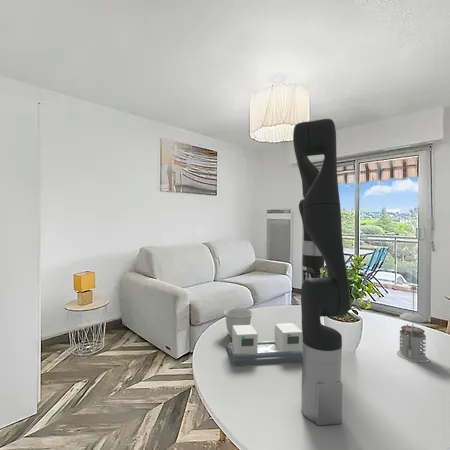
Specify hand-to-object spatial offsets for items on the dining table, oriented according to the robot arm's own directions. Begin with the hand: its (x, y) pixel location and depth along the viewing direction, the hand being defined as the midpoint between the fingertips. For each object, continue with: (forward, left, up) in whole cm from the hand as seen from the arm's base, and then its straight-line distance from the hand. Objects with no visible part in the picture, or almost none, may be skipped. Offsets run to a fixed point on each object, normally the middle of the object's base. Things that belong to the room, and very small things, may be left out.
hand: (312, 300), depth 106 cm
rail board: (+2, +16, -19) cm, 25 cm away
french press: (-6, -34, -19) cm, 40 cm away
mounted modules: (+2, +16, -17) cm, 24 cm away
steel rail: (+2, +16, -18) cm, 24 cm away
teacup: (+21, +23, -19) cm, 37 cm away
